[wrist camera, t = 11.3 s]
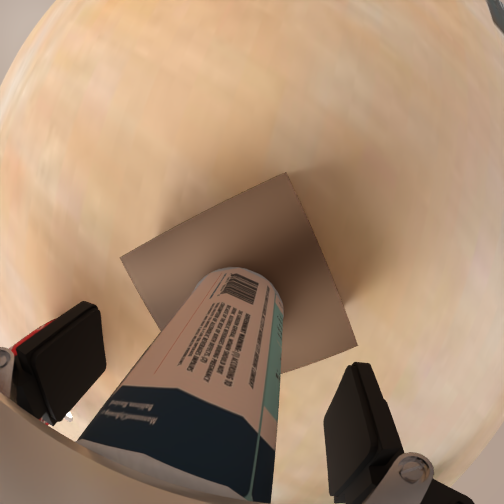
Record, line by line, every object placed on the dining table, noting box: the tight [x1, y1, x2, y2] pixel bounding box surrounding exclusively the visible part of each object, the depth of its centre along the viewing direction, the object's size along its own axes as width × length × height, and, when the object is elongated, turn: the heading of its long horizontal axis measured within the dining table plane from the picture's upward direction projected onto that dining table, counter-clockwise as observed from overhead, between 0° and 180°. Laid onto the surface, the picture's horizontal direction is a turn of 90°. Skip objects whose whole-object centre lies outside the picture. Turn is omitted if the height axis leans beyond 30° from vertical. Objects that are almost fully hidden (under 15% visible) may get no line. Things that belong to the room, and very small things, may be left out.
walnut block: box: [120, 172, 358, 374], centre depth 17 cm, size 10×10×5 cm
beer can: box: [76, 267, 284, 504], centre depth 9 cm, size 5×5×12 cm
